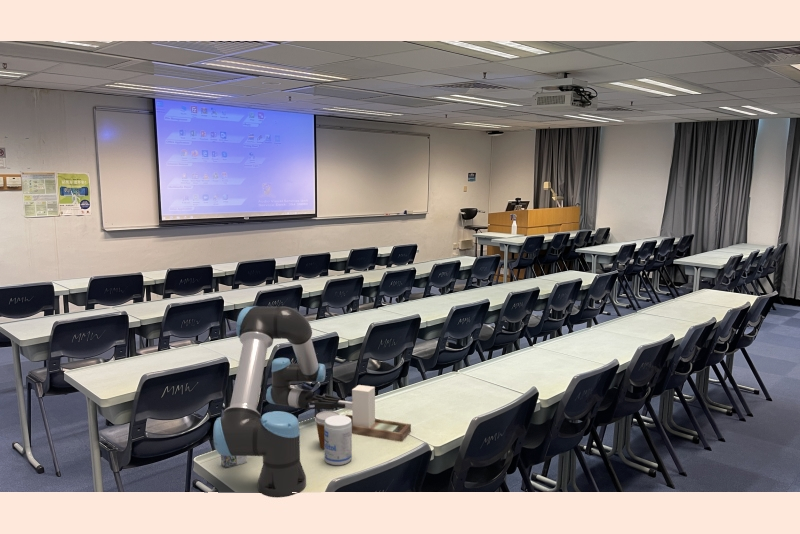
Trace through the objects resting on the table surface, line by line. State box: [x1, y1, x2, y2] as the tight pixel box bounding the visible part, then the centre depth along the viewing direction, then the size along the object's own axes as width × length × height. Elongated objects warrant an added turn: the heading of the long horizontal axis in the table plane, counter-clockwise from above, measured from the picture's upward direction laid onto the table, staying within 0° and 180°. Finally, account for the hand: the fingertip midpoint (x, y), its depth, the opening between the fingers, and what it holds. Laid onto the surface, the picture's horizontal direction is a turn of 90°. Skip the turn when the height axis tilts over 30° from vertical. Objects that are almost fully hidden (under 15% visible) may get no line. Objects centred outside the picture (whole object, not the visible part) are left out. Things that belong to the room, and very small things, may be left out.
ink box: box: [220, 455, 248, 469], centre depth 200 cm, size 4×8×15 cm, turn 124°
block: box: [351, 384, 376, 428], centre depth 229 cm, size 7×6×15 cm
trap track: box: [344, 414, 412, 442], centre depth 228 cm, size 28×10×3 cm, turn 69°
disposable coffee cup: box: [314, 410, 341, 450], centre depth 214 cm, size 10×10×12 cm
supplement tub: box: [323, 414, 353, 466], centre depth 203 cm, size 10×10×15 cm
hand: (353, 406), depth 231 cm, fingers closed
